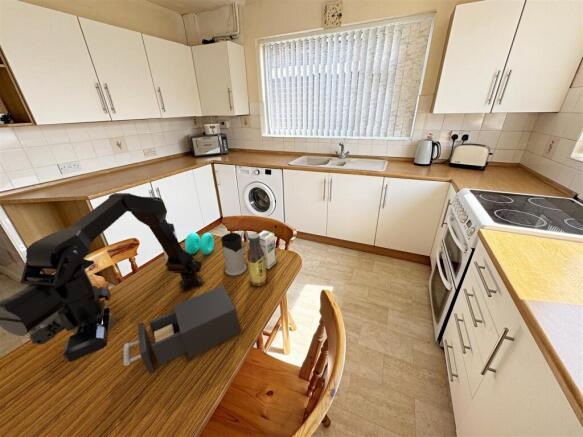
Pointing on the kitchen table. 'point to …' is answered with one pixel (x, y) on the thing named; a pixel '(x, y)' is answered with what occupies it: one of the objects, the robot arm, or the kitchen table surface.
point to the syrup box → (268, 248)
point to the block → (164, 333)
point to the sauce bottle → (256, 261)
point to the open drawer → (157, 343)
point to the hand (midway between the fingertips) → (104, 344)
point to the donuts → (199, 243)
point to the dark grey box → (206, 320)
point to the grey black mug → (234, 253)
